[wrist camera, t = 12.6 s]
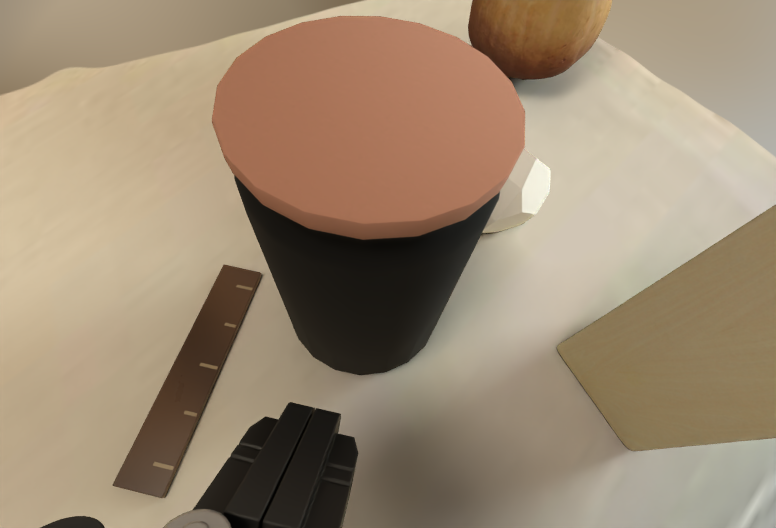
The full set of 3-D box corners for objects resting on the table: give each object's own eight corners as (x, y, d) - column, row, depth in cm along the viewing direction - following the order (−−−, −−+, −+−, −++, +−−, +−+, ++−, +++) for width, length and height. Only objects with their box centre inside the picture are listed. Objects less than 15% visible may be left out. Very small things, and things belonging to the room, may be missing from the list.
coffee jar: (455, 357, 27) (588, 188, 11) (306, 398, 25) (221, 259, 9) (410, 236, 32) (461, 4, 16) (282, 262, 30) (202, 24, 14)
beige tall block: (704, 404, 27) (1453, 238, 8) (630, 456, 25) (1406, 384, 6) (624, 309, 30) (1036, 44, 12) (553, 348, 28) (919, 99, 10)
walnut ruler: (164, 497, 22) (161, 498, 21) (115, 485, 22) (111, 485, 21) (262, 274, 29) (261, 272, 29) (225, 266, 29) (223, 263, 29)
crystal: (310, 70, 36) (493, 241, 27) (363, 12, 35) (568, 169, 27) (344, 113, 43) (499, 259, 34) (389, 65, 42) (559, 203, 34)
